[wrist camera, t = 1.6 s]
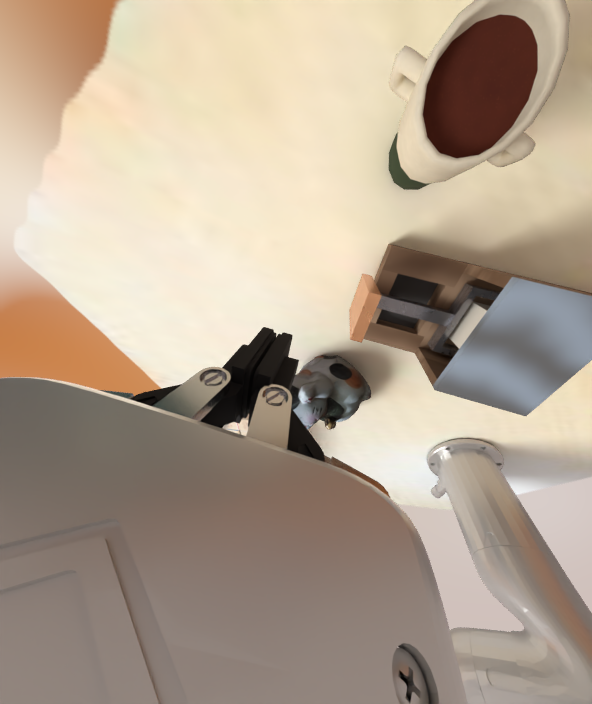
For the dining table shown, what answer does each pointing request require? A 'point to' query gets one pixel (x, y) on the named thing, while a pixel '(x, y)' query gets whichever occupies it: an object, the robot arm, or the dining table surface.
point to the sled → (412, 311)
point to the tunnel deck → (439, 299)
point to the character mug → (477, 89)
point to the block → (468, 323)
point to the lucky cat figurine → (328, 391)
